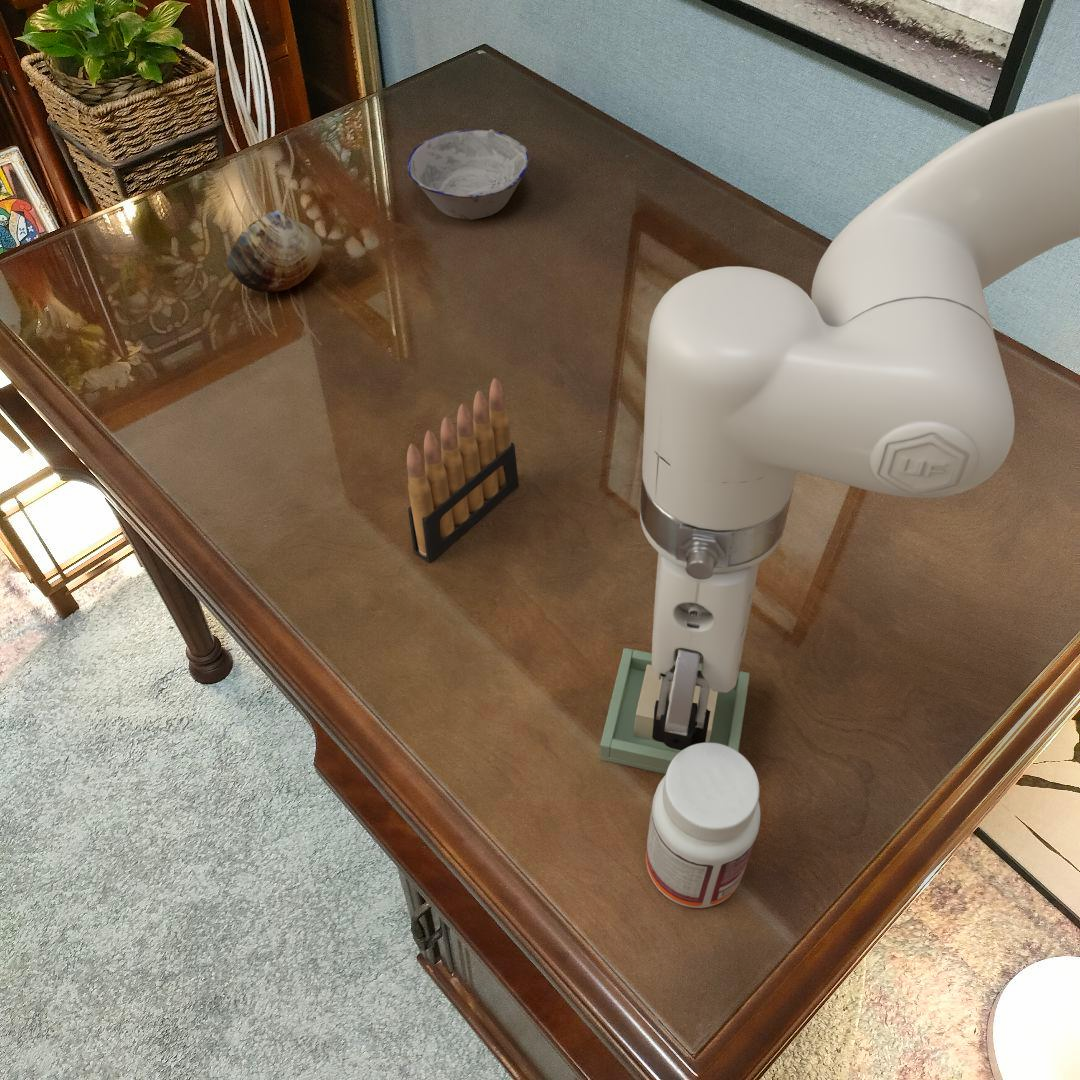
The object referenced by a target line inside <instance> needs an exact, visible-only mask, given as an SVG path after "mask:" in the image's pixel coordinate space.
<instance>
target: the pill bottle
mask: <svg viewBox="0 0 1080 1080" xmlns="http://www.w3.org/2000/svg"><path fill="white" fill-rule="evenodd" d="M752 765H753V764H751V762H749V760H748V759H747V758H746V757H745V756H744V755H743V754H742V753H740V752H739V751H738V752H737V751H736V750H734V749H732V748H730V747H728V746H725V745H722V744H718V743H698V744H694V745H691V746H689V747H687V748H685V749H684V750H682V751H681V752H679V753H678V754H677V755H676V756H675V757H674V759H673V760H672V761H671V763H670V765H669V767H668V769H667V772H666V774H664V776H663V777H662V779H661V780H660V781H659V783H658V785H657V787H656V789H655V793H654V795H653V797H652V805H651V809H650V815H649V824H648V831H647V839H646V847H645V863H646V869H647V872H648V875H649V877H650V879H651V881H652V883H653V884H654V886H655V887H656V888H657V889H658V891H659V892H661V894H663V896H665V898H667V899H669V900H670V901H672V902H673V903H675V904H678V905H681V906H683V907H686V908H687V907H688V908H693V909H694V908H695V909H703V908H710V907H714V906H716V905H719V904H721V903H723V902H724V901H726V900H727V899H728V898H730V897H731V895H733V893H735V891H736V890H737V888H738V887H739V885H740V883H741V881H742V878H743V877H744V876H743V875H744V874H745V871H746V868H747V864H748V862H749V859H750V856H751V853H752V850H753V847H754V845H755V842H756V839H757V837H758V834H759V831H760V824H761V805H760V801H759V798H760V783H759V779H758V775H757V772H756V771H755V769H754V767H753V766H752Z"/></svg>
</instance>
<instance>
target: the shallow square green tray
mask: <svg viewBox="0 0 1080 1080" xmlns="http://www.w3.org/2000/svg"><path fill="white" fill-rule="evenodd" d="M676 661H677V660H676ZM676 661H674V665H675V666H676ZM701 664H702V662H699V668H698V670H702V666H701ZM647 665H652V652H648V651H643V650H637V649H633V648H628V647H624V648H623V650H622V654H621V659H620V662H619V666H618V670H617V674H616V677H615V682H614V686H613V691H612V694H611V698H610V702H609V707H608V711H607V715H606V719H605V723H604V728H603V732H602V735H601V740H600V744H599V760H601V761H605V762H609V763H614V764H618V765H623V766H628V767H632V768H636V769H641V770H646V771H650V772H655V773H657V774H658V773H659V774H663V775H666V772H667V769H668V767H669V765H670V763H671V761H672V760H673V759H674V757H675V756H676V755H677V754H678V753H679V752H681V751H682V750H677V749H673V748H670V747H667V746H666V745H665V744H664V743H663V742H658V741H654V740H649V739H644V738H640V737H635V736H634V727H635V718H636V711H637V707H638V702H639V698H640V693H641V689H642V685H643V680H644V676H645V671H646V667H647ZM750 676H751V673H750V672H747V671H740V670H739V672H738V678H737V682H736V686H735V687H734V688H733V689H732V690H731V691H729V692H727V693H725V692H718V696H717V702H716V708H715V714H714V720H713V726H712V731H711V736H710V740H709V743H718V744H722V745H725V746H728V747H730V748H732V749H734V750H736V751H737V752H739V750H740V744H741V737H742V729H743V724H744V723H743V722H744V718H745V717H744V716H745V710H746V703H747V697H748V690H749V682H750Z"/></svg>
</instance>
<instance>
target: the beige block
mask: <svg viewBox="0 0 1080 1080" xmlns="http://www.w3.org/2000/svg"><path fill="white" fill-rule="evenodd" d="M661 684H662V676H661V680H659V679H658V678H657V677H656V675H655V674H654V672H653V670H652V665H647V667H646V671H645V676H644V680H643V685H642V689H641V693H640V698H639V702H638V707H637V711H636V718H635V727H634V736H635V737H640V738H644V739H649V740H654V739H653V738H652V734H653V721H654V709H655V703H656V700H658V701H659V696H660V690H661ZM672 684H673V681H672ZM672 684H671V689H672ZM700 689H701V686H696V685H695V691H694V697H693V703H698V701H699V695H700ZM670 695H671V690H670ZM717 696H718V692H717V691H712V690H711V689H710V691H709V697H708V702H707V708H706V709H708V710H709V711H710V717H709V723H708V729H707V735H706V741H705V743H709V740H710V736H711V731H712V726H713V720H714V714H715V708H716V702H717ZM669 700H670V696H669ZM697 706H698V704H697ZM654 741H655V740H654Z"/></svg>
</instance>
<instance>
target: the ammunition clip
mask: <svg viewBox="0 0 1080 1080" xmlns="http://www.w3.org/2000/svg"><path fill="white" fill-rule="evenodd" d="M488 397H489V398H488V401H489V402H487V399H486V396H485V395H484V393H483V392H482V391H481V390H477V391H476V393H475V396H474V399H473V411H472V414H473V418H472V416H471V413H470V411H469V408H468V407H467V406H466V404H465V403H463V402H462V403H461V404H460V405H459V407H458V409H457V416H456V430H455V427H454V425H453V423H452V421H451V419H450V418H449V417H448V416H444V417H443V419H442V421H441V426H440V445H439V441H438V439H437V437H436V436H435V434H434V432H433V431H432V430H431V429H427V430H426V432H425V435H424V440H423V454H424V455H423V457H424V461H423V458H422V455H421V453H420V451H419V449H418V448H417V446H416V445H415V444H414V443H410V444H409V446H408V448H407V452H406V469H407V477H408V479H407V480H408V483H407V491H408V497H409V502H410V506H409V507H408V508H407V513H408V520H409V521H408V522H409V528H410V535H411V541H412V549H413V550H412V551H413V553H414V554H416V555H418V557H420V558H422V559H423V560H425V561H426V562H428V563H433V562H434V561H435V560H437V559H438V558H439V557H440V556H441V555H442V554H444V553H445V552H446V551H447V550H448V549H449V548H450V547H451V546H452V545H454V544H455V543H456V542H457V541H458V540H459V539H460V538H461V537H463V536H465V534H466V533H467V532H468V531H470V530H471V529H472V528H473V527H474V526H475V525H476V524H477V523H478V522H480V521H481V520H482V519H483V518H484V517H486V515H488V514H489V513H490V512H491V511H492V510H493V509H495V508H496V507H497V506H498V505H499V504H500V503H501V502H502V501H503V500H505V499H506V498H507V497H508V496H509V495H510V494H512V492H514V491H515V490H516V489H518V487H519V485H520V484H519V475H518V474H519V473H518V464H517V454H516V446H515V443H514V442H512V441H511V429H510V419H509V416H508V412H507V406H506V399H505V393H504V390H503V387H502V384H501V381H500V380H499V379H498V378H497V377H496V376H495V377H493V379H492V381H491V384H490V388H489V396H488ZM488 403H489V405H488ZM472 419H473V420H472ZM456 431H457V432H456Z"/></svg>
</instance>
